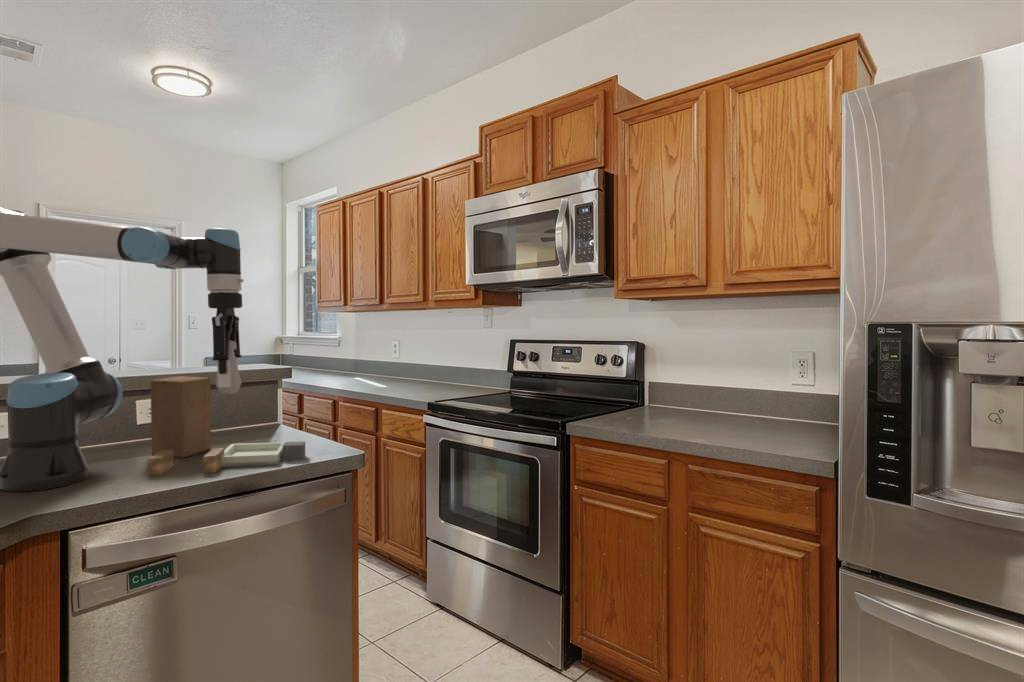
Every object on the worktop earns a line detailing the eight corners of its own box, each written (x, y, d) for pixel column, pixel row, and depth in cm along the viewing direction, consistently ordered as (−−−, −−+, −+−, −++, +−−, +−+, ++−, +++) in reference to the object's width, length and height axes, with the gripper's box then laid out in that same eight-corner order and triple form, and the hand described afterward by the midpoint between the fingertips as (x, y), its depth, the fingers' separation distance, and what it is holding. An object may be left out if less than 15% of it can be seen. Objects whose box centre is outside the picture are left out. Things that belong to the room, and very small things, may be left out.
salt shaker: (243, 390, 142) (241, 339, 141) (239, 393, 136) (237, 340, 135) (218, 391, 140) (216, 340, 139) (213, 394, 135) (211, 341, 134)
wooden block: (183, 458, 143) (182, 381, 142) (150, 455, 145) (149, 379, 144) (211, 449, 153) (211, 377, 152) (180, 446, 155) (179, 375, 154)
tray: (216, 467, 136) (216, 457, 135) (231, 453, 149) (231, 443, 149) (277, 464, 139) (277, 454, 139) (286, 451, 152) (286, 442, 152)
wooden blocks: (148, 475, 128) (148, 458, 127) (162, 466, 135) (161, 450, 135) (215, 472, 131) (215, 455, 131) (224, 463, 139) (224, 447, 139)
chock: (282, 460, 143) (282, 445, 143) (285, 456, 147) (285, 442, 147) (303, 460, 144) (303, 445, 144) (305, 456, 148) (305, 441, 148)
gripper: (229, 290, 128) (233, 389, 130) (251, 293, 147) (254, 380, 148) (194, 290, 127) (198, 391, 128) (220, 293, 145) (224, 381, 146)
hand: (228, 385), depth 138 cm, fingers closed on salt shaker, 6 cm apart
